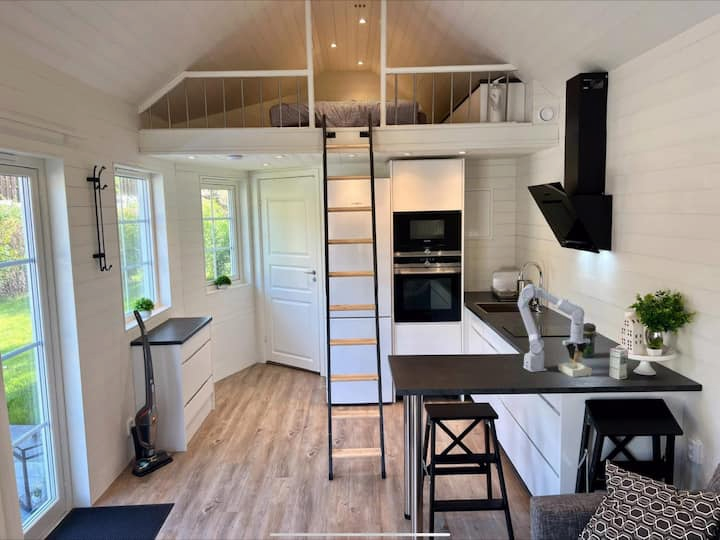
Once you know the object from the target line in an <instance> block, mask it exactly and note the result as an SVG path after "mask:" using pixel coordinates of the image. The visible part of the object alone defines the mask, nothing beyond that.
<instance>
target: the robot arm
mask: <svg viewBox="0 0 720 540" xmlns="http://www.w3.org/2000/svg"><path fill="white" fill-rule="evenodd" d="M533 297H534V299H539V298H541V299H543V300H545V301H547V302H549V303H551V304H553V305H555V306H556V309H557V310H558V311H561V312H563V313H564V314H566V315H568V316H571V323H570V338H569V339H565V340H564V339H563V340H562V345H563V346H565V347H566V349H567V352H568V355H569V359H570V358H571V359H574V352H575V350H578V351H580V352H582V355H583V352H584V350H585V349H586V347H587V344H586V343H590V339H583V328H584V324H585V323H584V321H585V320H584V319H585V318H584V317H585V310H584V309H583V308H582V307H581V306H580V305H578V304H574V303H572V302H570V301H569V299H567V298H566V299H565V298H562V299H559V298H557V296H555V295H553V294H551V293H550V292H548V291H546V290H545V289H543V288H541V287H539V286H537V285H535V284H532V283H528V284H526V285H525V287H523V289H522V290H521V291H520V293H519V296H518V300H517V307H518V309H519V313H520V315H521V317H522V321H523V323H524V326H525V329H526V332H527V335H528V341H529V351H528V352H527V353H526V352H525V353H524V356H523V366H522V368H524V369H525V370H527V371H529V372H531V373H534V372H544V371H548V369H547V368H546V367H545V351H544V349H543V348H544V347H545V344H546V343H545V341H544V340H543V338H542V337H541V335H540V333H539V331H538V328H537V326H536V322H535V320H534V317H533V315H532V311H531V309H530V305H529V303H530V301H531V300H532V299H533ZM576 348H577V349H576Z"/></svg>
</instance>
